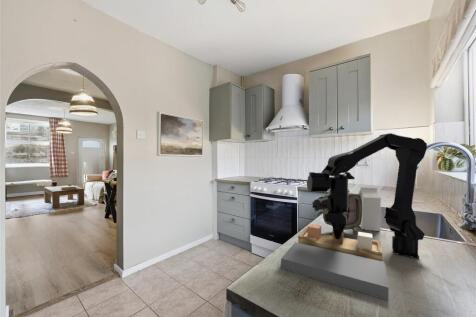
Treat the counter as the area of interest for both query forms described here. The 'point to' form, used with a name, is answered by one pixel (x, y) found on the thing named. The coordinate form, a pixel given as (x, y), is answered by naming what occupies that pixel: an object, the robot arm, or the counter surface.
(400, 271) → the counter surface
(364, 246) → the block
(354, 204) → the tabletop clock
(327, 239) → the tray
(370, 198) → the milk carton
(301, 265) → the grey flat slab
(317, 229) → the block
